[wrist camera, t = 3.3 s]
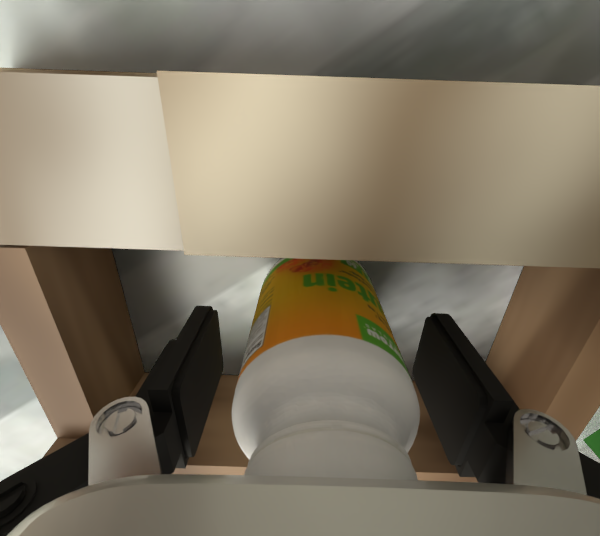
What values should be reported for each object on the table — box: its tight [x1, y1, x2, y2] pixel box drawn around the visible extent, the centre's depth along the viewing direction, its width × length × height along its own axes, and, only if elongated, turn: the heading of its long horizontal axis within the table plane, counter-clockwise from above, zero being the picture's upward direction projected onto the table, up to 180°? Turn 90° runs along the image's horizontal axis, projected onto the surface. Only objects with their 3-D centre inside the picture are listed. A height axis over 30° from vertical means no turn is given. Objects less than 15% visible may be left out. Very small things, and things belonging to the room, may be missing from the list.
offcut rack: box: [0, 68, 600, 483], centre depth 12 cm, size 23×16×5 cm
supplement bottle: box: [232, 258, 420, 480], centre depth 10 cm, size 5×5×10 cm
